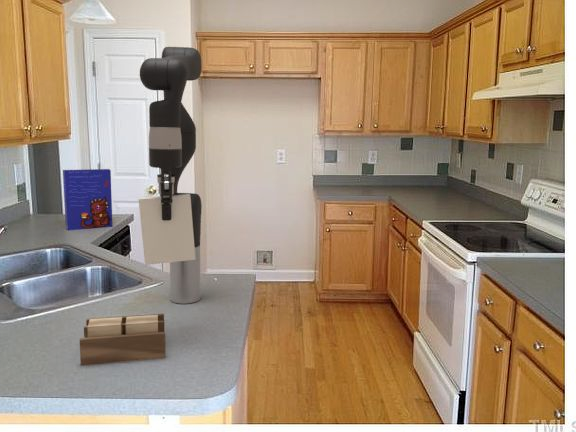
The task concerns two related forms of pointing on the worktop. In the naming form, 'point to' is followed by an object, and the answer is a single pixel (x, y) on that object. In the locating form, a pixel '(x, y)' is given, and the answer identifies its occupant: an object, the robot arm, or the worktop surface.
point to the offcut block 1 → (105, 327)
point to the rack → (123, 345)
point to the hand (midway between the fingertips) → (166, 218)
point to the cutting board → (167, 230)
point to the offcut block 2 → (142, 324)
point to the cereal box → (87, 198)
